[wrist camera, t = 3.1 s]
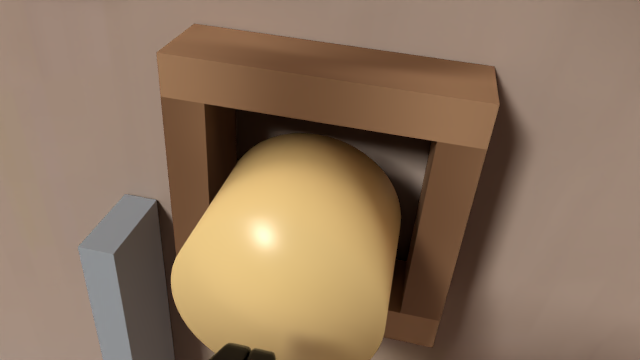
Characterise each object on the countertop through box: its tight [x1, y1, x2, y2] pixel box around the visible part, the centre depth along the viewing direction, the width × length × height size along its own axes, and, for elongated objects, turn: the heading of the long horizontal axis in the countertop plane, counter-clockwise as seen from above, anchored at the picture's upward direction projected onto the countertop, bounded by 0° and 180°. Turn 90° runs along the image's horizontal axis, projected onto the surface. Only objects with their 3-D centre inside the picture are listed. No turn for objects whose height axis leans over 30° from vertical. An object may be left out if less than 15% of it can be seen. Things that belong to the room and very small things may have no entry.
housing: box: [157, 24, 500, 348], centre depth 14 cm, size 7×7×2 cm
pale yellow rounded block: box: [171, 133, 401, 360], centre depth 12 cm, size 4×4×3 cm
